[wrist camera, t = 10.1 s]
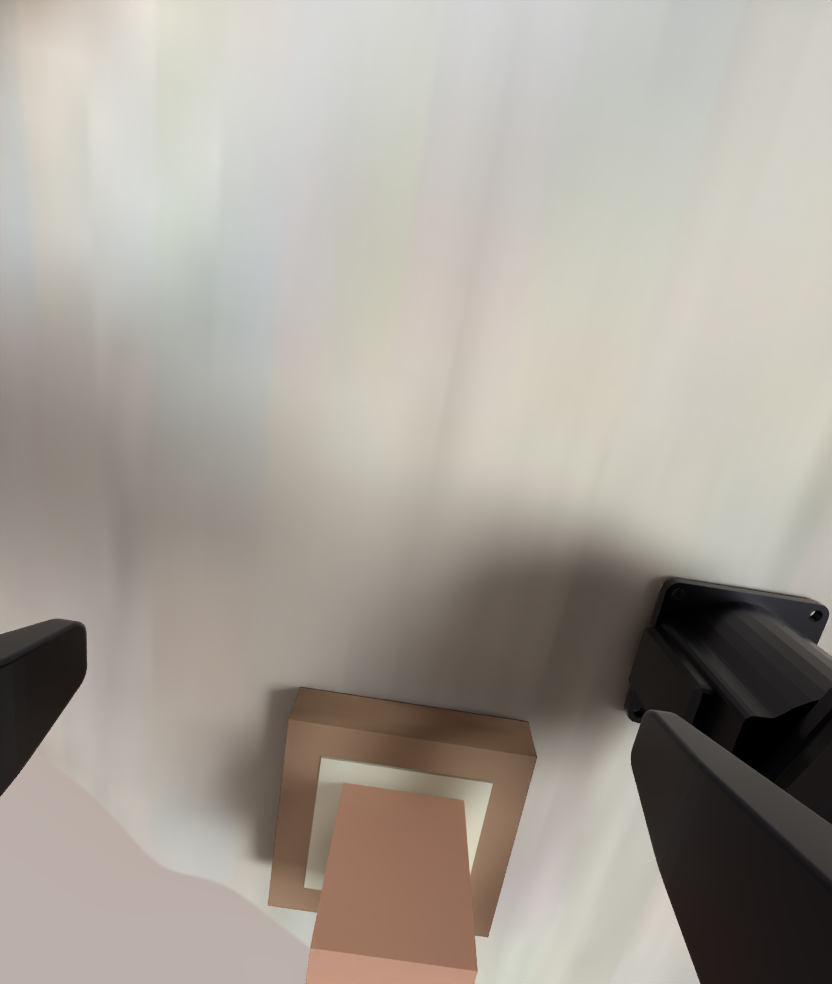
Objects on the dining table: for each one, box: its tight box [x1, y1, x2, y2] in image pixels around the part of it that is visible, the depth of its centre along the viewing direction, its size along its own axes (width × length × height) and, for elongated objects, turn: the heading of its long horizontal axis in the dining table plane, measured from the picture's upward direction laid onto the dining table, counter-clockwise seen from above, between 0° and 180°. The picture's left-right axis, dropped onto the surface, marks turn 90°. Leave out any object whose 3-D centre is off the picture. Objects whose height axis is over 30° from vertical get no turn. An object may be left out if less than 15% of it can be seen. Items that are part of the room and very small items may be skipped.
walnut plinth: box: [268, 687, 537, 937], centre depth 23 cm, size 10×10×2 cm
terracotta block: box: [305, 783, 478, 984], centre depth 19 cm, size 5×5×6 cm
